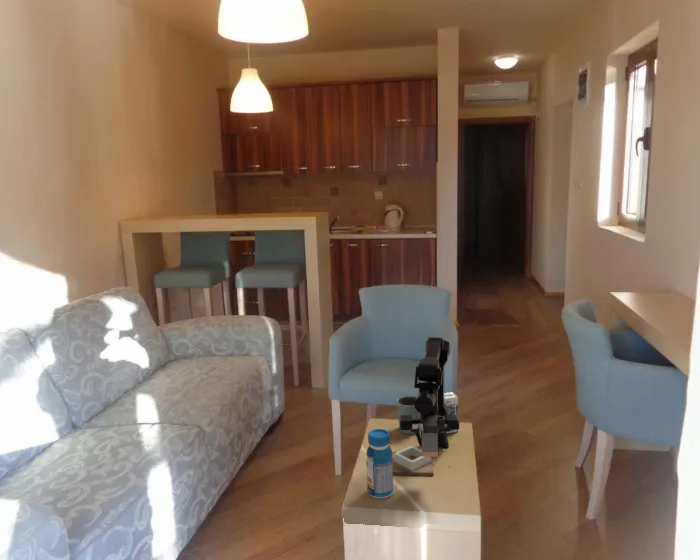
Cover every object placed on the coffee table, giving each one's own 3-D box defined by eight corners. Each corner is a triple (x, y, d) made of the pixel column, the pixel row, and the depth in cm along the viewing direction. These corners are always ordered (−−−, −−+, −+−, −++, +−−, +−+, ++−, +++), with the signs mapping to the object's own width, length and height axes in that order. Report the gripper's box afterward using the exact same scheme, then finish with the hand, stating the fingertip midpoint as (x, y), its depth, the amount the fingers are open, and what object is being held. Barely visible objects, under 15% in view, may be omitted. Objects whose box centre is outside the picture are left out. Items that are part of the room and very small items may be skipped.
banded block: (420, 449, 185) (420, 426, 183) (436, 449, 184) (436, 426, 183) (422, 456, 180) (421, 433, 178) (437, 456, 180) (437, 433, 178)
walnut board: (392, 454, 202) (392, 451, 202) (432, 455, 200) (432, 452, 200) (391, 474, 188) (391, 471, 188) (433, 475, 187) (433, 472, 187)
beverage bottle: (385, 502, 172) (384, 441, 169) (362, 495, 177) (360, 435, 173) (398, 489, 179) (397, 430, 176) (375, 482, 184) (373, 425, 180)
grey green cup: (414, 437, 215) (413, 407, 213) (392, 430, 221) (391, 402, 219) (427, 427, 223) (427, 399, 221) (405, 421, 229) (405, 393, 227)
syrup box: (444, 434, 217) (444, 398, 214) (438, 427, 222) (438, 393, 220) (458, 432, 218) (458, 396, 216) (451, 425, 224) (451, 391, 221)
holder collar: (394, 461, 195) (394, 453, 194) (412, 453, 200) (412, 445, 200) (412, 470, 188) (412, 462, 188) (430, 462, 193) (429, 454, 193)
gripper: (400, 412, 172) (401, 459, 174) (462, 411, 171) (462, 458, 173) (398, 398, 182) (399, 442, 185) (456, 397, 182) (456, 442, 184)
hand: (429, 446), depth 182 cm, fingers closed on banded block, 5 cm apart
